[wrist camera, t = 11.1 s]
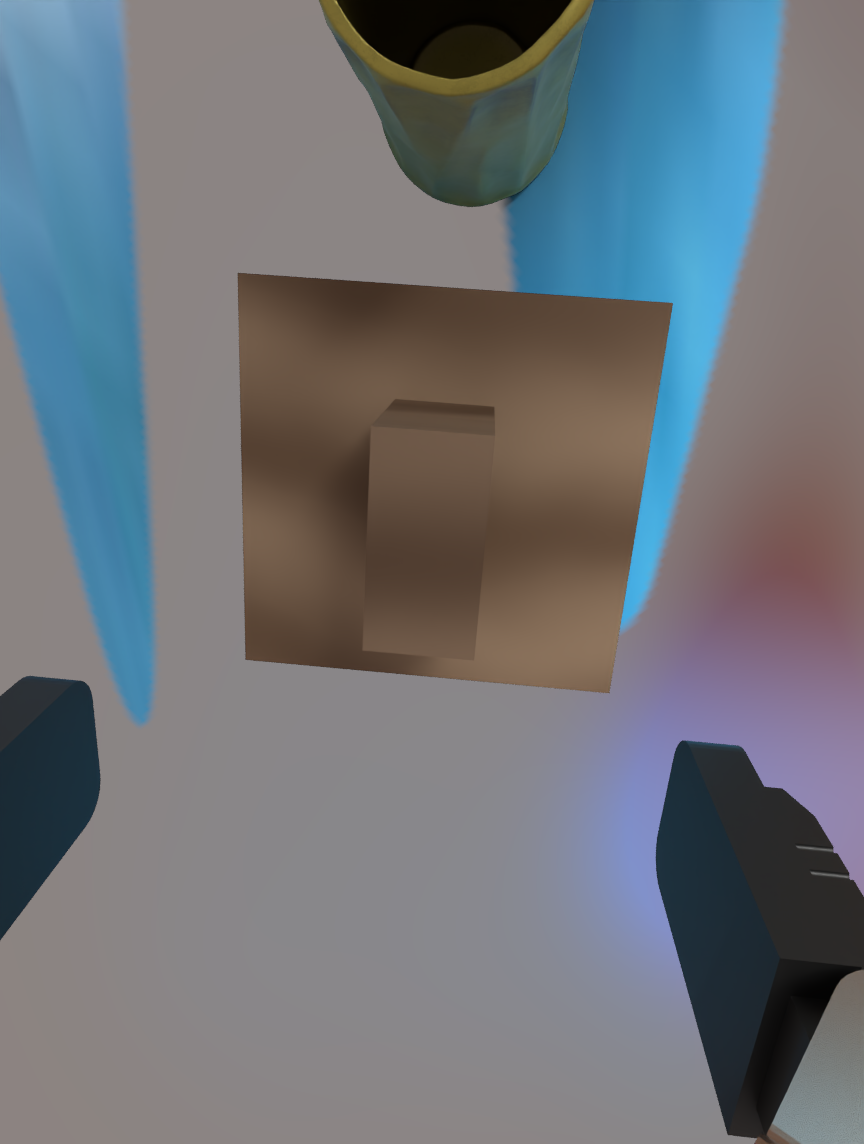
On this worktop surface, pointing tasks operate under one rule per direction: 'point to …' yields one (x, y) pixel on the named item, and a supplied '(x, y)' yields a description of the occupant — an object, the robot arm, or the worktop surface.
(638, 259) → the worktop surface
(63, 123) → the worktop surface
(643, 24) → the worktop surface
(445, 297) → the lid
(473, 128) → the vase
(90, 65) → the worktop surface
